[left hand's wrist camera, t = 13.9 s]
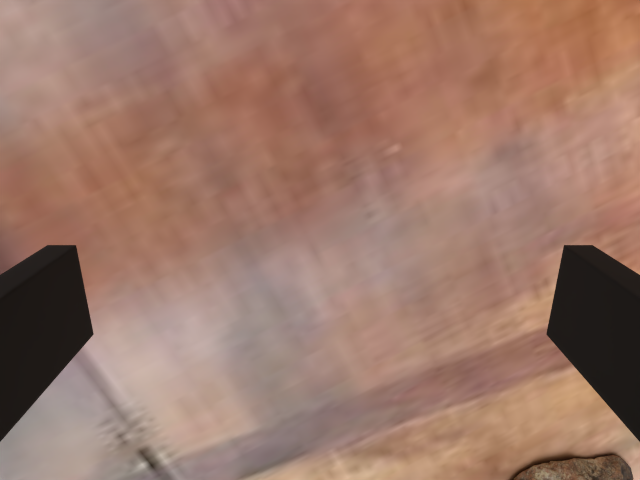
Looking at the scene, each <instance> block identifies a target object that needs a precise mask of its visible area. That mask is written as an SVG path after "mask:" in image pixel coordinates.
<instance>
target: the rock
mask: <svg viewBox="0 0 640 480" xmlns="http://www.w3.org/2000/svg"><path fill="white" fill-rule="evenodd" d="M513 480H633V475H632V472H631V468H630V467H629V465H628V464H627V463H626V462H625V461H624V460H622V459H621V458H620V457H618V456H615V455H610V456H603V457H596V458H595V459H592V458H590V459H576V458H573V459H570V460H565V461H550V462H549V463H542V464H539V465H533V466H532V467H531V468H529V469H527V470H525V471H523V472H521V473H520V474H519V475H517V476H516V477H515V478H514V479H513Z"/></svg>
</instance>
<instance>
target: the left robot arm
mask: <svg viewBox="0 0 640 480" xmlns="http://www.w3.org/2000/svg"><path fill="white" fill-rule="evenodd" d="M92 335H93V329H92V324H91V319H90V314H89V309H88V304H87V299H86V294H85V289H84V284H83V279H82V274H81V269H80V263H79V258H78V253H77V248H76V245H47V246H46V247H44V248H42V249H41V250H39V251H38V252H36V253H34V254H33V255H31V256H30V257H28V258H27V259H25V260H23V261H22V262H20V263H19V264H17V265H15V266H14V267H12V268H11V269H9V270H8V271H6V272H4V273H3V274H1V275H0V441H1V440H2V439H3V438H4V437H5V436H6V434H7V433H8V432H9V431H10V430H11V429H12V428H13V426H14V425H15V424H16V423H17V422H18V421H19V420H20V418H21V417H22V416H23V415H24V414H25V413H26V411H27V410H28V409H29V408H30V407H31V406H32V405H33V403H34V402H35V401H36V400H37V399H38V398H39V396H40V395H41V394H42V393H43V392H44V391H45V390H46V388H47V387H48V386H49V385H50V384H51V383H52V381H53V380H54V379H55V378H56V377H57V376H58V375H59V373H60V372H61V371H62V370H63V369H64V368H65V367H66V365H67V364H68V363H69V362H70V361H71V360H72V358H73V357H74V356H75V355H76V354H77V353H78V352H79V350H80V349H81V348H82V347H83V346H84V345H85V343H86V342H87V341H88V340H89V339H90V338H91V337H92ZM547 335H548V337H549V338H550V339H551V340H552V341H553V342H554V343H555V345H556V346H557V347H558V348H559V349H560V350H561V352H562V353H563V354H564V355H565V356H566V357H567V358H568V360H569V361H570V362H571V363H572V364H573V365H574V367H575V368H576V369H577V370H578V371H579V372H580V373H581V375H582V376H583V377H584V378H585V379H586V380H587V381H588V383H589V384H590V385H591V386H592V387H593V388H594V390H595V391H596V392H597V393H598V394H599V395H600V396H601V398H602V399H603V400H604V401H605V402H606V403H607V405H608V406H609V407H610V408H611V409H612V410H613V411H614V413H615V414H616V415H617V416H618V417H619V418H620V420H621V421H622V422H623V423H624V424H625V425H626V426H627V428H628V429H629V430H630V431H631V432H632V433H633V434H634V436H635V437H636V438H637V439H638V440H639V441H640V275H639V274H637V273H636V272H634V271H632V270H631V269H629V268H628V267H626V266H625V265H623V264H621V263H620V262H618V261H617V260H615V259H613V258H612V257H610V256H609V255H607V254H606V253H604V252H602V251H601V250H599V249H598V248H596V247H594V246H593V245H564V248H563V253H562V258H561V263H560V269H559V274H558V279H557V284H556V289H555V294H554V299H553V304H552V309H551V314H550V319H549V324H548V329H547Z"/></svg>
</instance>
